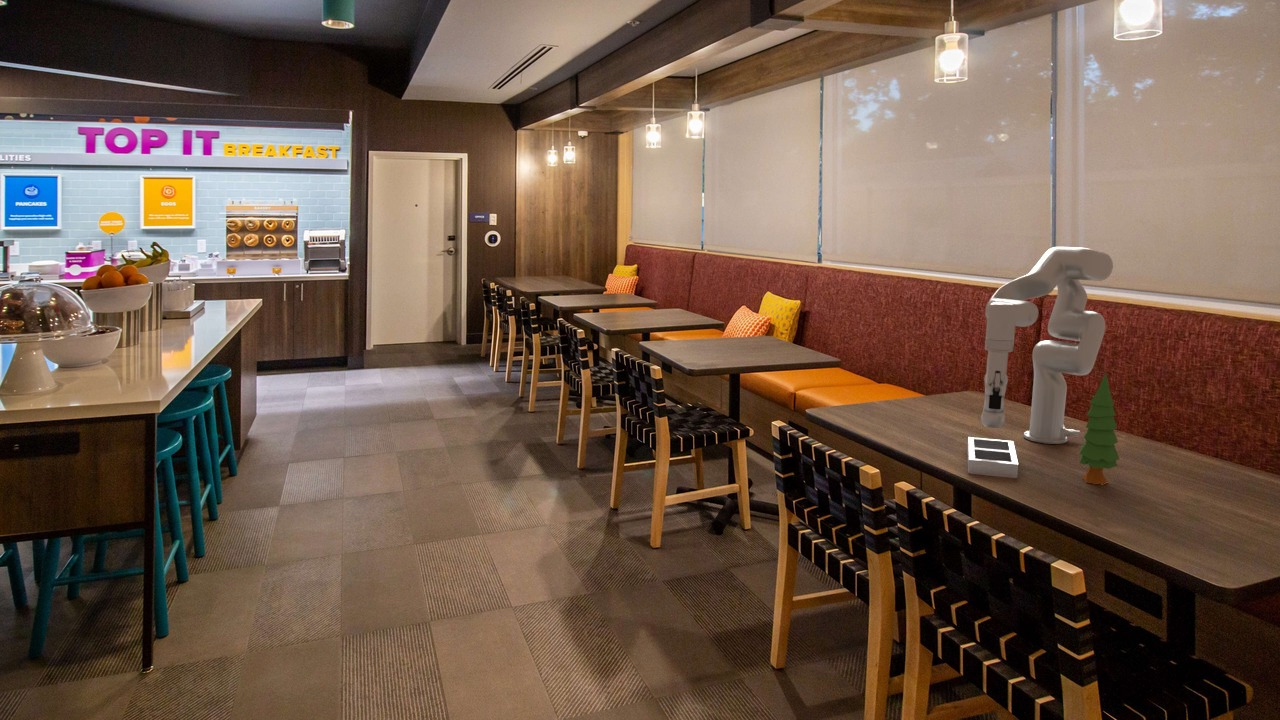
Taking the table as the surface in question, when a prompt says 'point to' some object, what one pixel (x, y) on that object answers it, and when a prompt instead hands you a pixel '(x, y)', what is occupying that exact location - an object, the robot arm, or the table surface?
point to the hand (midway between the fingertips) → (994, 405)
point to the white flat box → (992, 457)
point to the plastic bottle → (993, 416)
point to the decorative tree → (1100, 436)
